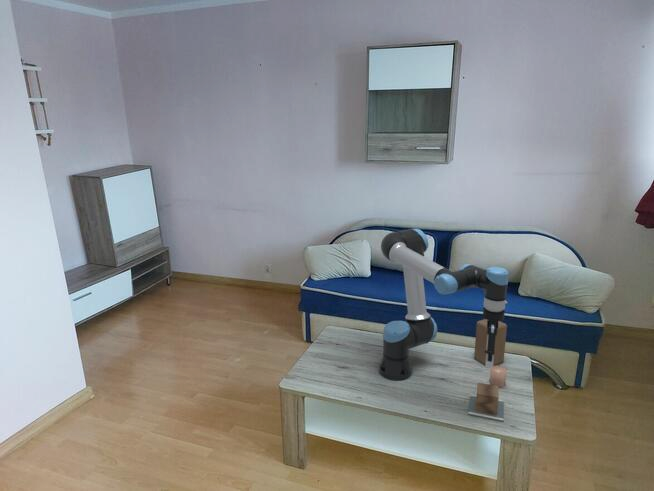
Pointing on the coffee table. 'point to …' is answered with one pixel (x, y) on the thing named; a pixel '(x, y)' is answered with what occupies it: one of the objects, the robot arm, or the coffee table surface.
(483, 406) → the cube
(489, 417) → the mat
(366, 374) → the coffee table surface
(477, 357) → the wooden block
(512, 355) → the coffee table surface
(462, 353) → the coffee table surface
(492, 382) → the pink cylinder
